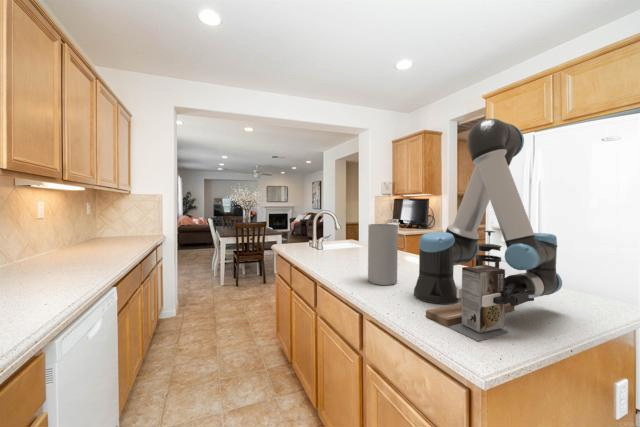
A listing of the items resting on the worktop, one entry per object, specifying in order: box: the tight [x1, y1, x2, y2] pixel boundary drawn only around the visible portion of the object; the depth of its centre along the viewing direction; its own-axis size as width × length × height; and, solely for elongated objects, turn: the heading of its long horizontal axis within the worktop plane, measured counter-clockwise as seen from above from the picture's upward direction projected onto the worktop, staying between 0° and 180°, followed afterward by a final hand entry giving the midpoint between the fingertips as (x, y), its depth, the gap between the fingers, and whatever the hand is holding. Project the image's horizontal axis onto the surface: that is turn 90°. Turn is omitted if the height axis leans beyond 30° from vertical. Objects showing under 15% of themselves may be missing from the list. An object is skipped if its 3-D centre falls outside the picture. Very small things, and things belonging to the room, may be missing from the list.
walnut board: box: [425, 302, 515, 328], centre depth 90 cm, size 8×30×2 cm, turn 115°
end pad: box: [447, 323, 509, 342], centre depth 78 cm, size 9×12×1 cm
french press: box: [475, 230, 503, 268], centre depth 122 cm, size 12×9×23 cm
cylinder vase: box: [367, 223, 399, 286], centre depth 126 cm, size 12×12×25 cm
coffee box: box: [461, 264, 506, 333], centre depth 79 cm, size 9×6×16 cm
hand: (470, 297), depth 77 cm, fingers closed on coffee box, 7 cm apart
